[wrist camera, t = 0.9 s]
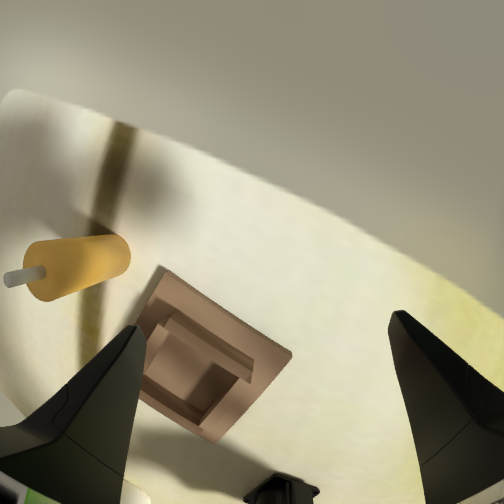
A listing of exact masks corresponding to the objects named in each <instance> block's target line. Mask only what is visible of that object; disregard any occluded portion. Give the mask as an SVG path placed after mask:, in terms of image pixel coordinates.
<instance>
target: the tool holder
mask: <svg viewBox="0 0 504 504" xmlns="http://www.w3.org/2000/svg"><path fill="white" fill-rule="evenodd" d="M135 325H138V326H140V328H141V330H142V332H143V334H144V337H145V339H146V342H147V347H146V355H145V363H144V372H143V379H142V385H141V390H140V394H139V399H140V400H142V401H143V402H145V403H146V404H147V405H149V406H150V407H152V408H153V409H155V410H157V411H158V412H160V413H161V414H163V415H164V416H166V417H168V418H169V419H171V420H172V421H174V422H176V423H177V424H179V425H181V426H182V427H184V428H186V429H187V430H189V431H191V432H193V433H194V434H196V435H198V436H200V437H202V438H204V439H205V440H207V441H209V442H211V443H213V444H215V443H216V442H217V441H218V440H219V439H220V438H221V437H222V436H223V435H224V434H225V433H226V432H227V431H228V430H229V429H230V428H231V427H232V426H233V425H234V424H235V423H236V421H237V420H238V419H239V418H240V417H241V416H242V415H243V414H244V413H245V412H246V411H247V410H248V408H249V407H250V406H251V405H252V404H253V403H254V402H255V401H256V400H257V398H258V397H259V396H260V395H261V394H262V393H263V392H264V390H265V389H266V388H267V387H268V386H269V385H270V384H271V382H272V381H273V380H274V379H275V378H276V377H277V375H278V374H279V373H280V372H281V371H282V369H283V368H284V367H285V366H286V365H287V363H288V362H289V361H290V360H291V358H292V352H290V351H289V350H287V349H286V348H284V347H282V346H281V345H279V344H278V343H276V342H274V341H273V340H271V339H270V338H268V337H267V336H265V335H263V334H262V333H260V332H259V331H257V330H256V329H254V328H253V327H251V326H249V325H248V324H246V323H245V322H243V321H242V320H240V319H239V318H237V317H236V316H234V315H233V314H231V313H230V312H228V311H227V310H225V309H224V308H222V307H221V306H219V305H218V304H216V303H215V302H214V301H212V300H211V299H209V298H208V297H206V296H205V295H203V294H202V293H200V292H199V291H198V290H196V289H195V288H193V287H192V286H190V285H189V284H188V283H186V282H185V281H183V280H182V279H181V278H179V277H178V276H176V275H175V274H174V273H172V272H171V271H167V272H165V274H164V276H163V277H162V279H161V280H160V282H159V284H158V285H157V287H156V289H155V290H154V292H153V294H152V296H151V297H150V299H149V301H148V302H147V304H146V306H145V307H144V309H143V311H142V313H141V314H140V316H139V318H138V320H137V321H136V323H135Z"/></svg>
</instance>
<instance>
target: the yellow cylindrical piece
mask: <svg viewBox="0 0 504 504" xmlns="http://www.w3.org/2000/svg"><path fill="white" fill-rule="evenodd" d="M130 260H131V253H130V249H129V246H128V244H127V243H126V241H125V240H124V239H123V238H122V237H120V236H118V235H114V234H109V235H98V236H87V237H76V238H66V239H56V240H46V241H38V242H35V243H33V244H31V245H30V246H29V248H28V249H27V251H26V253H25V256H24V261H23V269H21V270H16V271H11V272H7V273H5V274H4V283H5V285H6V287H8V288H11V287H15V286H18V285H22V284H25V283H26V284H27V287H28V288H29V290H30V292H31V293H32V294H33V295H34V296H35V297H36V298H37V299H39V300H41V301H44V302H50V301H53V300H55V299H58V298H60V297H63V296H66V295H68V294H71V293H73V292H76V291H79V290H81V289H84V288H87V287H89V286H92V285H95V284H97V283H100V282H103V281H105V280H108V279H111V278H113V277H116V276H119V275H121V274H123V273H124V272H125V271H126V270H127V268H128V267H129V264H130Z"/></svg>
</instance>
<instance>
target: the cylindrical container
mask: <svg viewBox="0 0 504 504" xmlns="http://www.w3.org/2000/svg"><path fill="white" fill-rule="evenodd" d="M120 504H151V501H150V498H149V497H148V495H147V494H146V493H145V492H144V491H142V490H141V489H140V488H138V487H137V486H135V485H134V484H132V483H130V482H128V481H125V480H123V486H122V492H121V500H120Z"/></svg>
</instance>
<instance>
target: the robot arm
mask: <svg viewBox="0 0 504 504" xmlns="http://www.w3.org/2000/svg"><path fill="white" fill-rule="evenodd" d="M388 335H389V340H390V345H391V350H392V356H393V361H394V366H395V371H396V374H397V378H398V381H399V385H400V388H401V392H402V395H403V399H404V403H405V406H406V410H407V414H408V418H409V422H410V426H411V430H412V434H413V438H414V443H415V447H416V452H417V457H418V461H419V466H420V472H421V478H422V483H423V489H424V495H425V501H426V504H457V503H459V504H504V392H503V391H502V390H500V389H499V388H498V387H496V386H495V385H494V384H492V383H491V382H490V381H488V380H487V379H486V378H484V377H483V376H482V375H481V374H480V373H479V372H477V371H476V370H475V369H474V368H473V367H472V366H470V365H468V363H467V362H466V361H465V360H463V359H462V358H461V357H460V356H459V355H458V354H457V353H455V352H454V351H453V350H452V349H451V348H450V347H448V346H447V345H446V344H445V343H444V342H442V341H441V340H440V339H439V338H438V337H436V336H435V335H434V334H433V333H432V332H430V331H429V330H428V329H427V328H426V327H424V326H423V325H422V324H421V323H420V322H418V321H417V320H416V319H415V318H413V317H412V316H411V315H410V314H409V313H407V312H406V311H404V310H398V311H394V312H393V313H392V316H391V319H390V323H389V326H388ZM146 347H147V342H146V339H145V337H144V334H143V332H142V330H141V328H140V326H138V325H128V326H126V327H125V328H124V329H123V330H122V331H121V332H120V333H119V334H118V335H117V336H116V337H115V338H113V339H112V340H111V341H110V342H109V343H108V344H107V345H106V346H105V347H104V348H103V349H102V350H101V351H100V352H99V353H98V354H96V355H95V356H94V357H93V358H92V359H91V360H90V361H89V362H88V363H87V364H86V365H85V366H84V367H83V368H82V369H81V370H80V371H79V372H78V373H77V374H76V375H75V376H73V377H72V378H71V379H70V380H69V381H68V384H67V383H66V384H65V385H64V386H63V387H62V388H61V389H60V390H59V391H58V392H57V393H56V394H55V395H54V396H52V397H51V398H50V399H49V400H48V401H47V402H45V403H44V404H43V405H42V406H41V407H39V408H38V409H37V410H36V411H35V412H33V413H32V414H31V415H30V416H28V417H27V418H26V419H25V420H23V421H22V422H20V423H18V424H16V425H13V426H6V427H0V504H120V500H121V492H122V486H123V479H124V478H123V477H124V472H125V466H126V460H127V454H128V448H129V443H130V438H131V432H132V427H133V422H134V417H135V413H136V408H137V403H138V399H139V394H140V390H141V385H142V379H143V372H144V363H145V355H146ZM319 493H320V490H319V489H318V488H315V487H312V486H309V485H306V484H304V483H301V482H298V481H295V480H292V479H290V478H287V477H285V476H282V475H279V474H274V475H272V476H271V477H270V478H269V479H267V480H266V481H265V482H263V483H262V484H261V485H260V486H258V487H257V488H256V489H254V490H253V491H252V492H250V493H249V494H248V495H246V496H245V497H244V498H243V502H245V503H248V504H314V503H313V498H314V497H315V496H317V495H318V494H319Z"/></svg>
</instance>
